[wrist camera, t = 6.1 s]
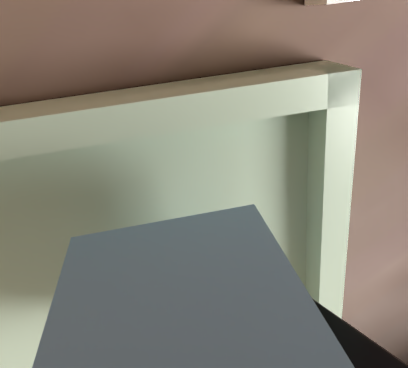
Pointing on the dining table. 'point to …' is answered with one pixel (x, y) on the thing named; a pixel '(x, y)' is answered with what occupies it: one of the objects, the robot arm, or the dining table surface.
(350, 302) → the dining table surface
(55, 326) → the block
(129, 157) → the tray
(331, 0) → the dish
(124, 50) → the dining table surface
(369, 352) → the robot arm
